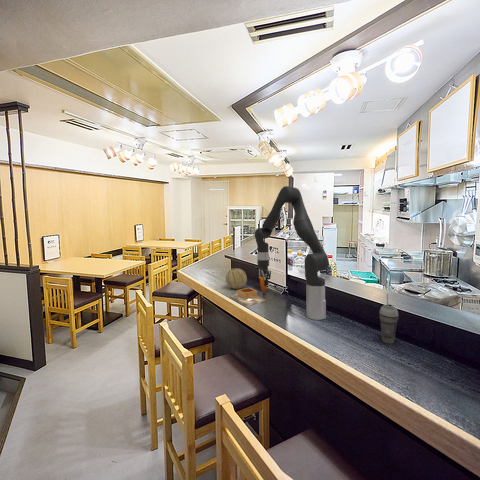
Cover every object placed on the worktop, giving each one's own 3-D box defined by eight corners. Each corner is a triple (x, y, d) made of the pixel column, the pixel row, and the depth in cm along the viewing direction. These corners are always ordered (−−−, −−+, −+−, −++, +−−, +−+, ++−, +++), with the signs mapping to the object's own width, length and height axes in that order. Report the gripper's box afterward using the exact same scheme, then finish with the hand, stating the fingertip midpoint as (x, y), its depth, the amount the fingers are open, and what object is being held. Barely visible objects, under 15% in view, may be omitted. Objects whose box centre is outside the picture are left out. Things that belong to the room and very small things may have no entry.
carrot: (267, 292, 184) (266, 269, 182) (268, 294, 179) (267, 271, 177) (259, 292, 183) (259, 270, 182) (260, 294, 179) (260, 271, 177)
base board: (248, 293, 187) (248, 291, 187) (265, 301, 170) (265, 299, 170) (230, 297, 180) (230, 295, 180) (246, 306, 163) (246, 304, 163)
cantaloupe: (250, 289, 196) (249, 268, 194) (230, 292, 190) (229, 271, 189) (242, 284, 209) (241, 265, 208) (223, 287, 204) (223, 267, 202)
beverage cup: (387, 346, 112) (389, 298, 110) (374, 338, 119) (375, 292, 117) (402, 343, 114) (403, 296, 112) (388, 335, 121) (389, 291, 119)
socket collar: (250, 293, 184) (250, 286, 183) (261, 298, 172) (261, 291, 172) (233, 296, 177) (233, 289, 177) (243, 302, 166) (243, 294, 165)
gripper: (274, 259, 174) (275, 286, 176) (261, 256, 187) (262, 281, 189) (264, 260, 171) (265, 288, 172) (252, 258, 183) (252, 283, 185)
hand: (263, 284), depth 180 cm, fingers closed on carrot, 4 cm apart
